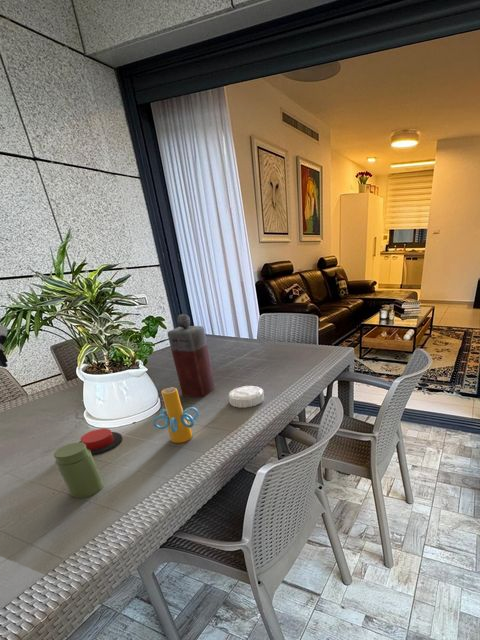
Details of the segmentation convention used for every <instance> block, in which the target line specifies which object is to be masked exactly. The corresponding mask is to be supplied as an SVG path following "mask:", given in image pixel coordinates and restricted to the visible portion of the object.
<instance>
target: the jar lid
mask: <svg viewBox="0 0 480 640" xmlns="http://www.w3.org/2000/svg"><path fill="white" fill-rule="evenodd" d="M112 432H113V431H112V430H111V429H109V428H98V429H97V428H96V429H93V430H91V431H88V432H86V433H85V434H83V435H82V436H81V437H80V441H81V442H82V443H84V444H85V445H86V447H87V449H90V450H91V449H98V448H102V447H104V446H107V445H109V444H110V443H111V442H112V441H113V440H114V437H113V434H112Z"/></svg>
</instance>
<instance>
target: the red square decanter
mask: <svg viewBox="0 0 480 640" xmlns="http://www.w3.org/2000/svg"><path fill="white" fill-rule="evenodd" d="M176 322H177V324H178V325H177V327H175V328H174V329H171V330H169V331H167V339H168V343H169V346H170V351H171V354H172V358H173V363H174V365H175V366H174V367H175V372H176V375H177V379H178V383H179V387H180V390H181V395H182V396H184V397H185V396H186V397H200V398H205V397H206V396H207V395H208V394H210V393H211V392H212V391H214V390H215V389H216V388H217V387H216V382H215V378H214V372H213V366H212V361H211V357H210V352H209V347H208V346H209V345H208V341H207V336H206V331H205V328H204V326H202V325H191V319H190V316H189V315H188V314H179V315H178V316H177V321H176Z"/></svg>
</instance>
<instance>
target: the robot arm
mask: <svg viewBox="0 0 480 640" xmlns="http://www.w3.org/2000/svg"><path fill="white" fill-rule="evenodd" d="M8 330H9V329H8V327H7V326H6V325H1V324H0V367H2V368H8V364H7V363H8V359H7V356H6V354H5V352H4V350H3V349H4V345H5V344H6V341H7V340H8V337H7V336H8Z"/></svg>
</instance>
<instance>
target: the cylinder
mask: <svg viewBox="0 0 480 640" xmlns="http://www.w3.org/2000/svg"><path fill="white" fill-rule="evenodd" d="M160 392H161V395H162V400H163V402H164V407H165V408H162V409H160V411H159V414H158V415H157V416H155V417H154V418H153V421H152V423H153V426H154V427H155V428H156V429H158V430H164V429H166V428H167V431H168V434H169V438H170V441H171V442H172V443H174V444H182V443H185V442H188V441H190V440H191V439H192V438H193V432H192V428H194V425H195V420H197V419H198V418H199V414H200V413H199V410H198V409H197V408H196V407H193V406H190V407H187V408H185V409H183V406H182V402H181V398H180V395H179V391H178V388H177V387H167V388H163V389H162V390H161V391H160ZM189 411H193V412H195V415H194V417H192V416H191V415H190V414H188V412H189ZM164 413H166V414H167V415H165V414H164ZM159 419H162V421H164V422H165V425H161V426H160V425H158V424H157V421H158V420H159Z"/></svg>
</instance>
